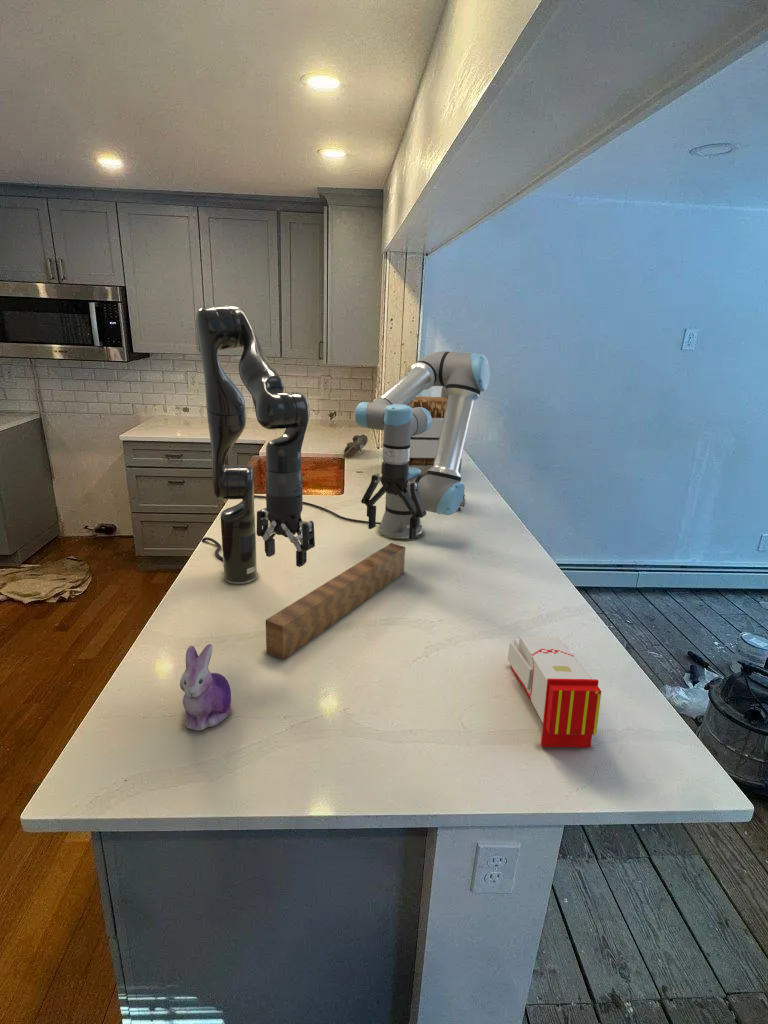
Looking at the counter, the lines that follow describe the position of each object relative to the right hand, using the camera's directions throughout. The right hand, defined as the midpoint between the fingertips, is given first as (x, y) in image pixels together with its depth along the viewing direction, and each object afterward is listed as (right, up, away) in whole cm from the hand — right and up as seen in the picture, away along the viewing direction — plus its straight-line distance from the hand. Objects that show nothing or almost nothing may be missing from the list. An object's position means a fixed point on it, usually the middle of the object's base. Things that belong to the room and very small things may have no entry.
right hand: (391, 533), depth 164 cm
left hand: (-24, -4, -40) cm, 47 cm away
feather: (-42, +5, +47) cm, 63 cm away
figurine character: (+27, +8, +66) cm, 72 cm away
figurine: (-36, -33, -56) cm, 74 cm away
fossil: (-18, +37, +141) cm, 147 cm away
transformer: (+15, +25, +111) cm, 115 cm away
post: (-13, -19, -14) cm, 27 cm away
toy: (+31, -33, -47) cm, 65 cm away
